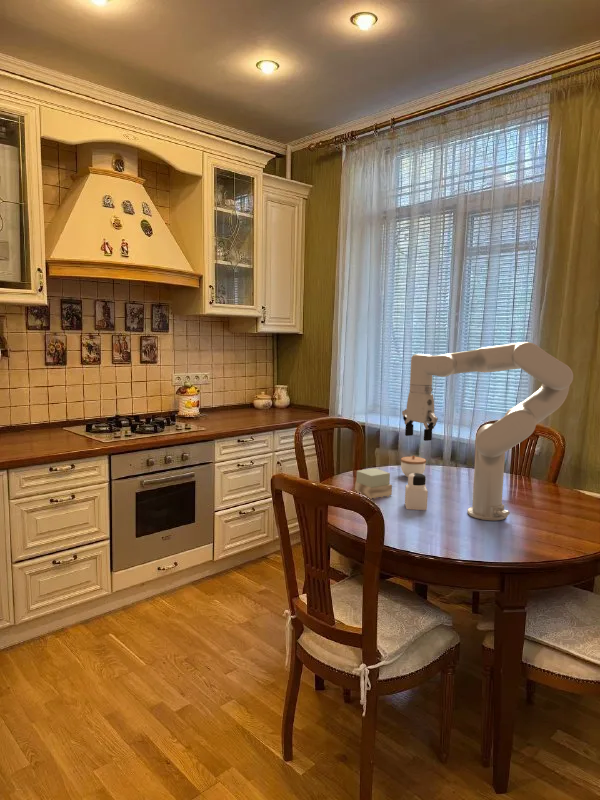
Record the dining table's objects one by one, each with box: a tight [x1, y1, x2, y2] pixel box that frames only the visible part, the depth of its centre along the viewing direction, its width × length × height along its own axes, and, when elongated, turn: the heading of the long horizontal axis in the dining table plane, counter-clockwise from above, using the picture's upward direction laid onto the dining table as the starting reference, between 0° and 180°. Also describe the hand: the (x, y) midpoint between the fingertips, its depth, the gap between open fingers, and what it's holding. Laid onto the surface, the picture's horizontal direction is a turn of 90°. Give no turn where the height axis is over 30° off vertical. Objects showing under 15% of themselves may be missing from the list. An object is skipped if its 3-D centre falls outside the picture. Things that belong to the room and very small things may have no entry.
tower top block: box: [355, 467, 391, 488], centre depth 214 cm, size 9×9×4 cm
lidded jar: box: [400, 455, 427, 478], centre depth 242 cm, size 11×11×9 cm
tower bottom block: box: [354, 481, 393, 500], centre depth 214 cm, size 10×10×4 cm
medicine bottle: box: [404, 473, 429, 511], centre depth 198 cm, size 7×7×12 cm
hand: (418, 437), depth 196 cm, fingers open, 9 cm apart
